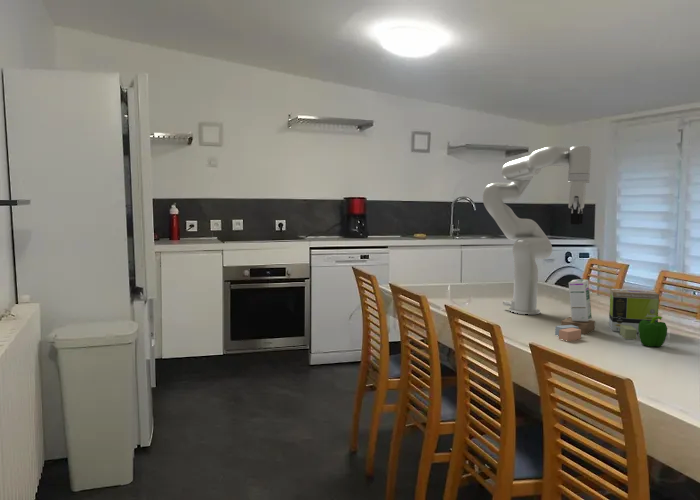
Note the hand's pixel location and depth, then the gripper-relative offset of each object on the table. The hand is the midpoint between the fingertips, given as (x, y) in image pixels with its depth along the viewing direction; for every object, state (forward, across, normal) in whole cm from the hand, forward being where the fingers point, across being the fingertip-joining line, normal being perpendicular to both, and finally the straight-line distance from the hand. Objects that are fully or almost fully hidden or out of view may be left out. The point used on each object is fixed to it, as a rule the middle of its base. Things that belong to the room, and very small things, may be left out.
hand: (576, 223), depth 214 cm
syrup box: (+35, +12, +5) cm, 37 cm away
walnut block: (+39, +13, +3) cm, 41 cm away
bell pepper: (+38, +24, +27) cm, 53 cm away
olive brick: (+38, +14, +20) cm, 46 cm away
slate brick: (+38, +24, +1) cm, 45 cm away
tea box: (+39, +2, +21) cm, 44 cm away
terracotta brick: (+38, +29, +3) cm, 48 cm away
